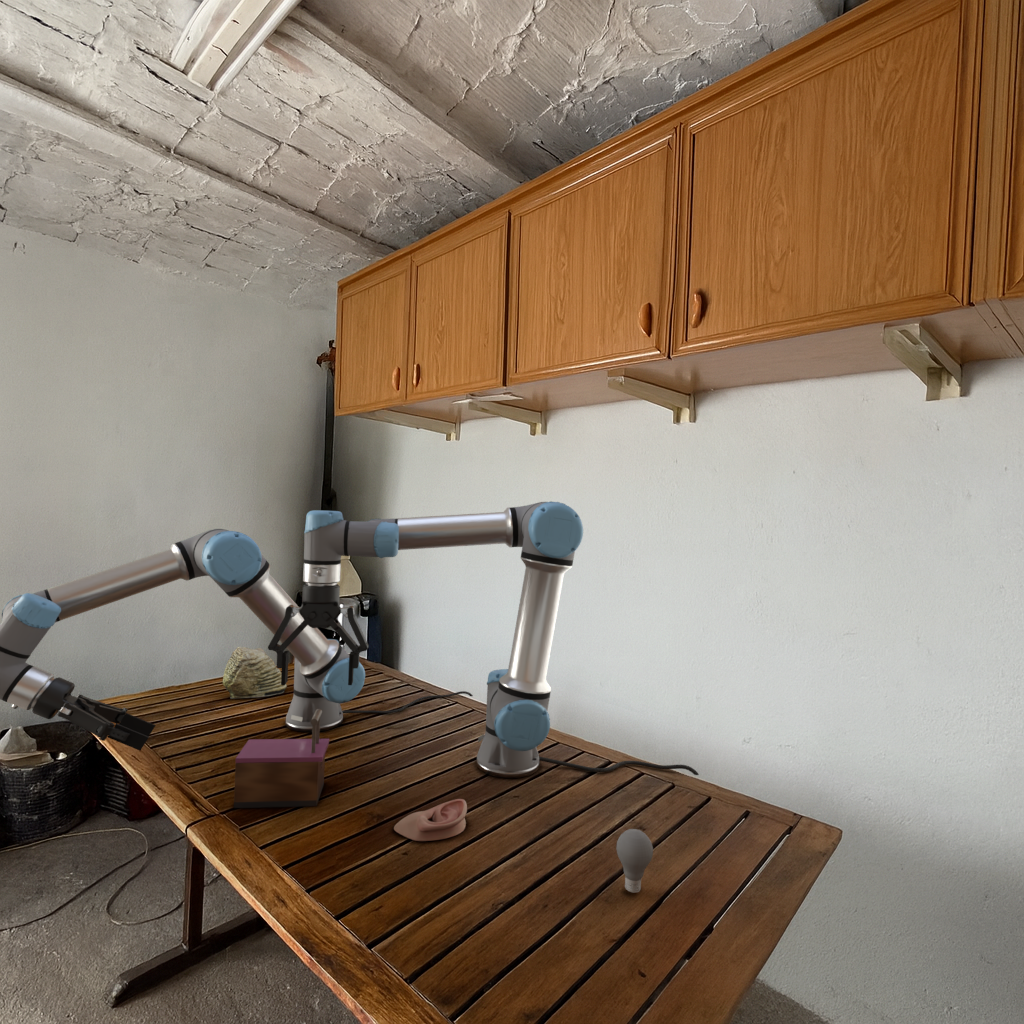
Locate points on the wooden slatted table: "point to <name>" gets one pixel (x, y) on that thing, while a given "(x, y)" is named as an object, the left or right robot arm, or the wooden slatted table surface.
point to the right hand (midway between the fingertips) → (317, 683)
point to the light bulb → (634, 857)
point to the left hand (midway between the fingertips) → (148, 737)
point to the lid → (286, 748)
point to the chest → (278, 784)
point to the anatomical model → (434, 822)
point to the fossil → (252, 674)
